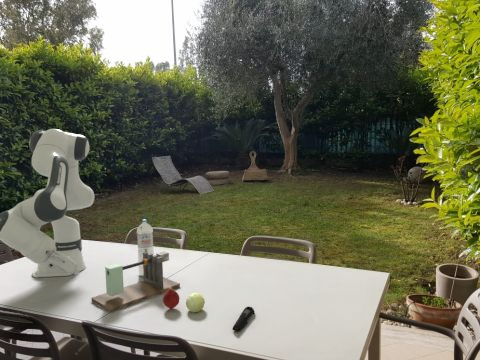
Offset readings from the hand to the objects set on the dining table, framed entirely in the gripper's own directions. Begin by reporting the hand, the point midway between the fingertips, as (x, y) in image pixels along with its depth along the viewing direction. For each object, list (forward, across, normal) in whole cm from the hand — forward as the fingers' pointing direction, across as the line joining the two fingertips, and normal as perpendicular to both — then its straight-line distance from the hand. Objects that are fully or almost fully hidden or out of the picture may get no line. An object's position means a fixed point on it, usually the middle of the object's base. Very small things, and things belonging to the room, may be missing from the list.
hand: (72, 270), depth 136 cm
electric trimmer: (+37, -47, -13) cm, 61 cm away
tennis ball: (+33, -28, -10) cm, 45 cm away
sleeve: (+20, 0, -2) cm, 20 cm away
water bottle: (+40, +16, -16) cm, 46 cm away
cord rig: (+29, 0, -6) cm, 30 cm away
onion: (+30, -21, -6) cm, 37 cm away
